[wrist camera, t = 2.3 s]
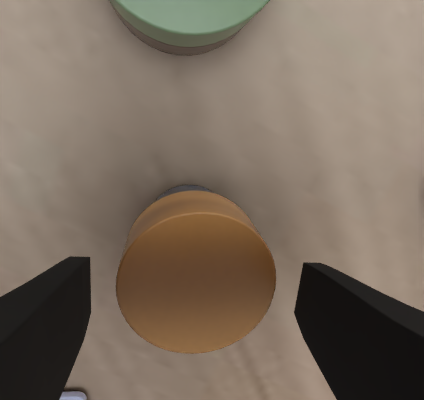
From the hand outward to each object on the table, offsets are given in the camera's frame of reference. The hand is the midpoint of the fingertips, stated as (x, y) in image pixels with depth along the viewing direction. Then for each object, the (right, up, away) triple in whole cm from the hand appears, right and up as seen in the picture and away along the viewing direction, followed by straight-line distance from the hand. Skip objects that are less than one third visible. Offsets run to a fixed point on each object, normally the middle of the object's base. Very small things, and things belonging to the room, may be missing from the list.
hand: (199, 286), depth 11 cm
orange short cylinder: (0, +1, +2) cm, 3 cm away
